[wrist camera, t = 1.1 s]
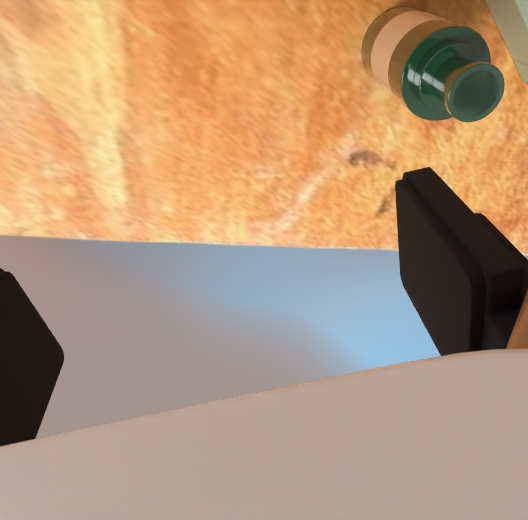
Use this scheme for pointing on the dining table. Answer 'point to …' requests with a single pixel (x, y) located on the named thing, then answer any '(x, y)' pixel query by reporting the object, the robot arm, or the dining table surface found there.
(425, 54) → the bottle
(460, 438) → the robot arm
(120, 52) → the dining table surface
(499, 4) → the rack
